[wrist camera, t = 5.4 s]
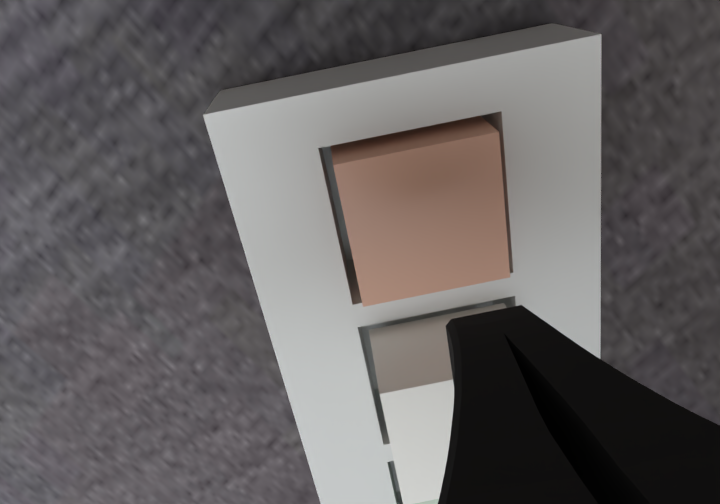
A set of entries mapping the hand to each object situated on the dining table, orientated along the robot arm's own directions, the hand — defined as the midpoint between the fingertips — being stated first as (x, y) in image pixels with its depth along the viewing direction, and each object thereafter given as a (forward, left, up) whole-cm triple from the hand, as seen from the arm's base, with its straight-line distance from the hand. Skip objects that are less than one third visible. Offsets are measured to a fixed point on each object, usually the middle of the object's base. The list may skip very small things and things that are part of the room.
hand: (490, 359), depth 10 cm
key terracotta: (0, 0, -9) cm, 9 cm away
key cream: (0, +6, -7) cm, 9 cm away
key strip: (0, +8, -10) cm, 13 cm away
